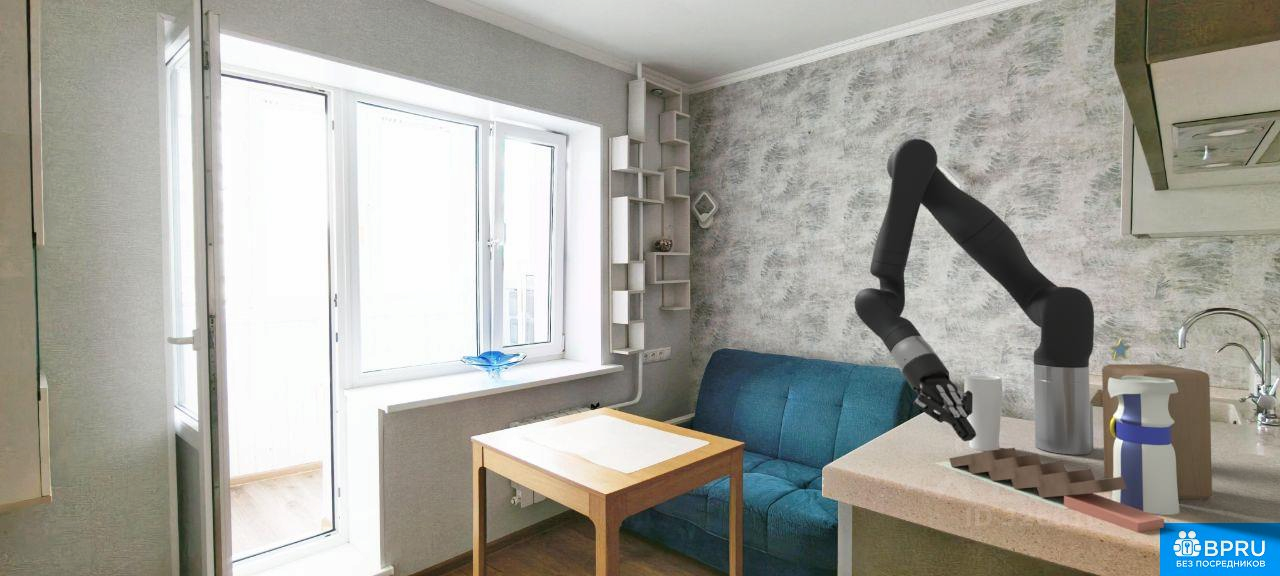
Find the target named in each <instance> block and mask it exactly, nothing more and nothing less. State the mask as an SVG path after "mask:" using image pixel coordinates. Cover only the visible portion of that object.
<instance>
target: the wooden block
mask: <svg viewBox="0 0 1280 576" xmlns="http://www.w3.org/2000/svg"><path fill="white" fill-rule="evenodd" d="M1101 369H1102V370H1101V375H1102V376H1101V377H1102V378H1101V381H1102V386H1101V387H1102V418H1103V420H1102V423H1103V424H1102V425H1103V426H1102V429H1103V431H1102V432H1103V469H1104V470H1103V472H1104V473H1103V475H1104V479H1106V478H1113V449H1114V442H1115V439H1116V438H1115V437H1114V436H1112V434H1111V432H1110V422H1111V420H1112V418H1113V415H1114V414H1115V413H1116V411H1117V409H1118V405H1119V400H1118V396H1114V397H1112V398H1111V397H1110V394H1109V392H1108V380H1109V378H1114V379H1119V380H1122V379H1121V377H1123V376H1145V377H1155V378H1164V379H1171V380H1174V381H1175V383H1176V386H1177V389H1178V392H1177V393H1173V394H1170V396H1169V401H1168V411H1169V414H1170V416H1171V418H1172V419H1173V420H1174V424H1172V425H1171V444H1172V446H1173V448H1174V451H1175V456H1176V476H1177V491H1178V500H1179V499H1182V500H1183V499H1185V500H1189V499H1190V500H1204V501H1206V500H1210V499H1211V498H1212V495H1213V482H1212V481H1213V480H1212V479H1213V478H1212V474H1213V473H1212V436H1211V435H1212V433H1211V432H1212V429H1211V425H1212V423H1211V387H1210V386H1211V385H1210V382H1211V381H1210V380H1211V379H1210V376H1209V374H1208V373H1207V372H1206V371H1203V370H1199V369H1198V370H1197V369H1194V368H1193V369H1192V368H1186V367H1179V366H1173V365H1168V364H1159V363H1157V364H1152V363H1151V364H1150V363H1149V364H1142V363H1141V364H1139V363H1138V364H1136V363H1135V364H1131V363H1130V364H1123V363H1120V364H1115V363H1114V364H1112V363H1111V364H1107V365H1105V366H1104V365H1103V367H1102V368H1101Z"/></svg>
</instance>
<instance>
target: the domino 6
mask: <svg viewBox="0 0 1280 576" xmlns="http://www.w3.org/2000/svg"><path fill="white" fill-rule="evenodd" d="M1064 506H1065V507H1068V508H1070V510H1073V511H1076V512H1078V513H1080V514H1084V515H1087V516H1090V517H1092V518H1095V519H1099V520H1101V521H1104V522H1106V523H1107V522H1108V523H1109V524H1112V525H1115V526H1118V527H1121V528H1124V529H1126V530H1130V531H1132V532H1136V533H1142V532H1146V531H1152V530H1158V529H1162V528H1163V529H1164V526H1165V525H1164V521H1165V518H1163V517H1161V516H1158V515H1156V514H1150V513H1147V512H1144V511H1141V510H1139V509H1136V508H1133V507H1130V506H1127V505H1124V504H1122V503H1119V502H1116V501H1113V500H1112V499H1110V498H1108V497H1104V496H1103V495H1099V494H1097V493H1089V494H1077V495H1065V496H1064Z"/></svg>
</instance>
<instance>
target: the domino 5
mask: <svg viewBox="0 0 1280 576" xmlns="http://www.w3.org/2000/svg"><path fill="white" fill-rule="evenodd" d="M1120 489H1127V486H1126V484H1125V482H1124V479H1123V477H1116V478H1100V479H1095V480H1090V481H1083V482H1076V483H1069V484H1059V485H1049V486H1040V487H1037V490H1038V492H1039V495H1040V498H1041V497H1053V496H1065V495H1077V494H1089V493H1093V494H1099V493H1108V492H1113V491H1114V490H1120Z"/></svg>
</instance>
